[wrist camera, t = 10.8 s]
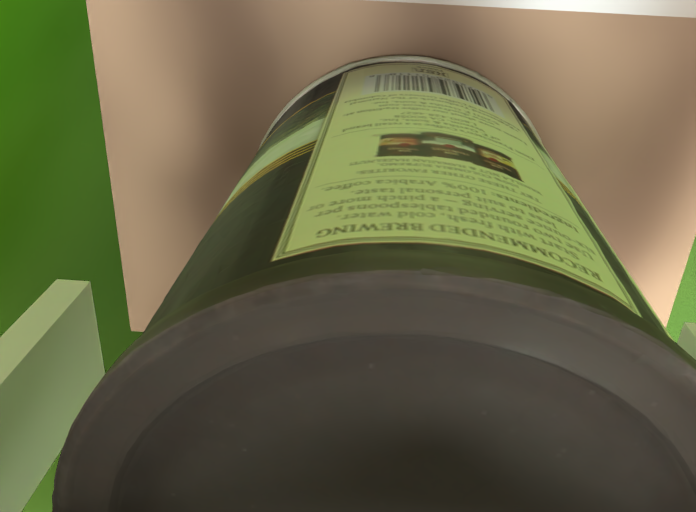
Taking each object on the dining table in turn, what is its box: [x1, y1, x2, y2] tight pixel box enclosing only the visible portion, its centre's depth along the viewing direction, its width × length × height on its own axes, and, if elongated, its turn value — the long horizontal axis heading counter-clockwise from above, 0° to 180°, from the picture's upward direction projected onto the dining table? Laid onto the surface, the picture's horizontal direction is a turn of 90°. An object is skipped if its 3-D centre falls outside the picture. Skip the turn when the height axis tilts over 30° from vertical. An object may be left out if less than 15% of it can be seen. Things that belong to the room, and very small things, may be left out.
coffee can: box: [52, 55, 696, 512], centre depth 15 cm, size 10×10×14 cm
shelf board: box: [86, 0, 696, 332], centre depth 21 cm, size 20×14×5 cm
